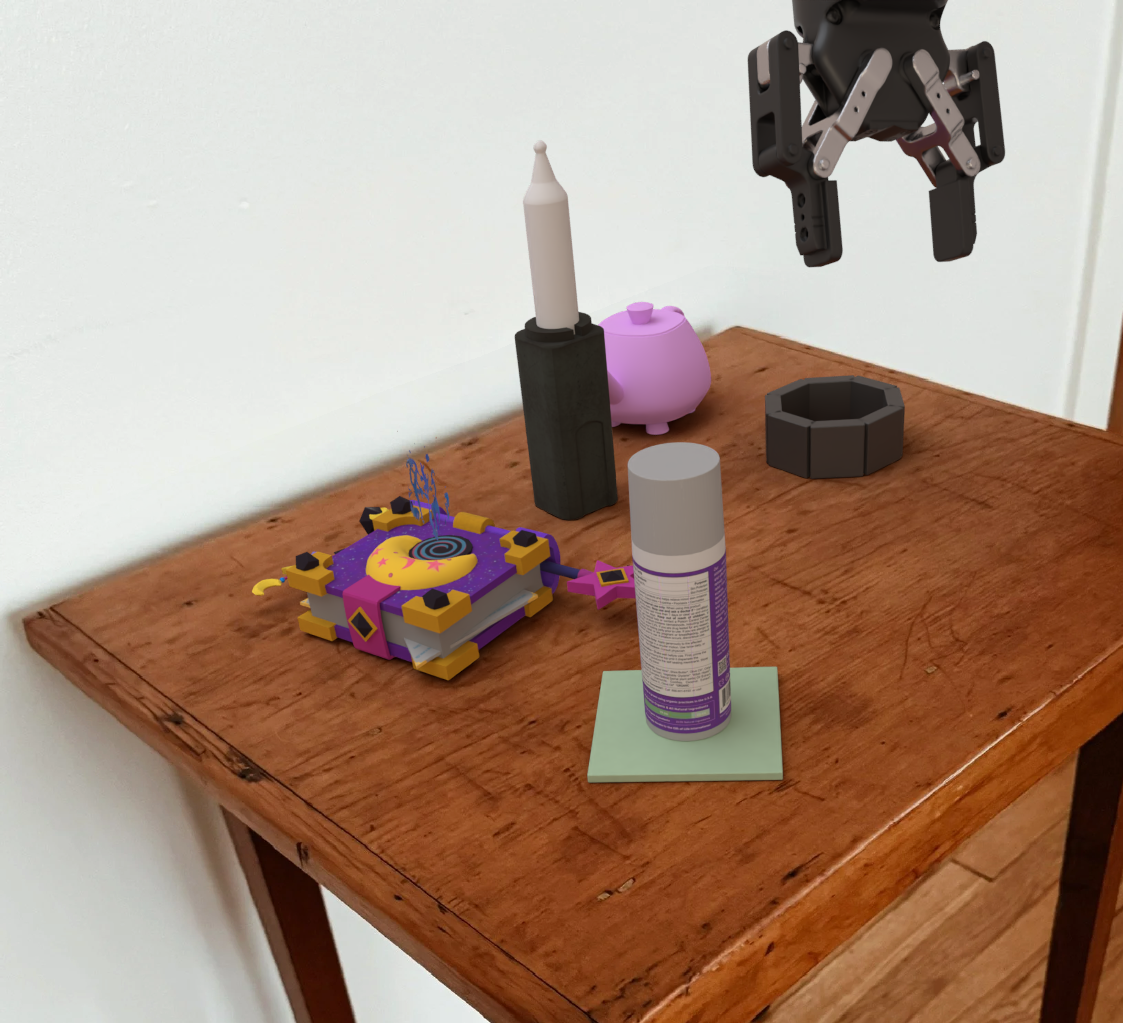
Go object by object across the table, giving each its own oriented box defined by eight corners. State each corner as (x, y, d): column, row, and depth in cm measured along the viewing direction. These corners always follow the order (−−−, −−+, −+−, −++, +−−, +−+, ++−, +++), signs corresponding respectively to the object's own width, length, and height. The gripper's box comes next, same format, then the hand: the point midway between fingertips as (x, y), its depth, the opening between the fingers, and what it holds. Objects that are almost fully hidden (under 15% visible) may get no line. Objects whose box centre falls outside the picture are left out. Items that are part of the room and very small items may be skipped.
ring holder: (893, 421, 102) (895, 372, 100) (907, 474, 94) (909, 422, 92) (764, 428, 104) (764, 379, 102) (767, 481, 96) (766, 429, 93)
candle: (568, 523, 93) (529, 152, 79) (528, 502, 97) (483, 144, 83) (624, 500, 95) (595, 136, 82) (583, 480, 99) (548, 128, 85)
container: (688, 683, 73) (674, 433, 65) (749, 714, 70) (743, 456, 62) (627, 718, 71) (604, 464, 63) (688, 752, 68) (672, 489, 60)
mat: (777, 673, 74) (777, 666, 74) (782, 780, 66) (782, 772, 66) (603, 677, 76) (602, 670, 76) (587, 783, 68) (587, 775, 67)
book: (383, 532, 95) (351, 370, 88) (672, 609, 82) (661, 424, 75) (233, 623, 86) (185, 450, 79) (531, 727, 72) (504, 528, 66)
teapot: (739, 395, 110) (736, 284, 105) (651, 464, 100) (643, 345, 95) (633, 382, 115) (625, 275, 110) (540, 446, 105) (526, 332, 100)
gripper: (792, -133, 57) (826, 250, 60) (1029, -105, 63) (1050, 241, 66) (699, -59, 64) (733, 282, 66) (921, -40, 70) (944, 271, 73)
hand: (891, 261), depth 66 cm, fingers open, 8 cm apart
